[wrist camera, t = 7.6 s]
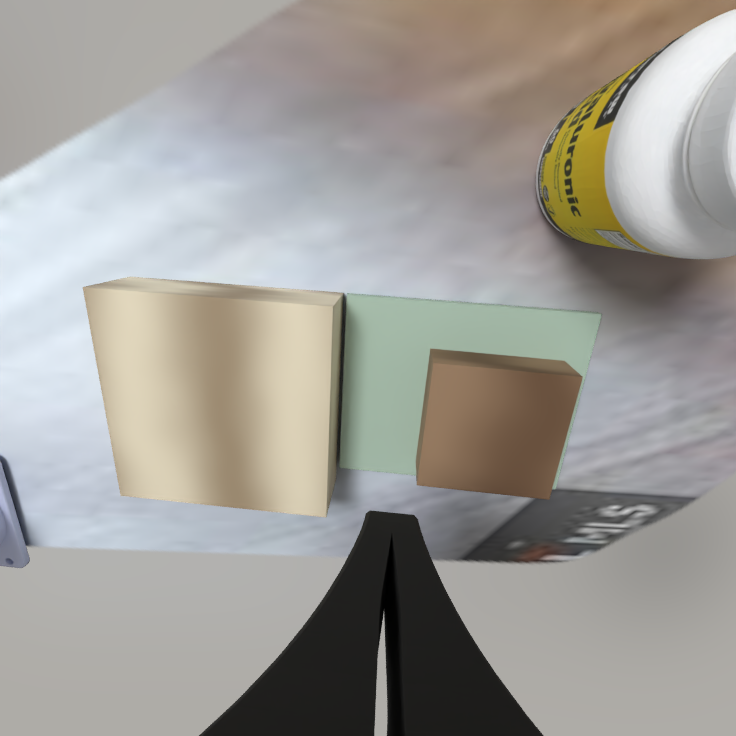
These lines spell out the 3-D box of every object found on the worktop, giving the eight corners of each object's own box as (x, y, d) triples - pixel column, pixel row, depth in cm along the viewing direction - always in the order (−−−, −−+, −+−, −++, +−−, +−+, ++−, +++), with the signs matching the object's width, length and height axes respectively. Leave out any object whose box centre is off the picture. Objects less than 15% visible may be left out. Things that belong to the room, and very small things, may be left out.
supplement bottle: (565, 73, 15) (816, -149, 6) (705, 113, 15) (1165, -44, 6) (510, 223, 17) (635, 233, 8) (634, 259, 17) (902, 308, 8)
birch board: (155, 460, 23) (120, 495, 20) (130, 276, 19) (82, 287, 16) (335, 479, 22) (326, 517, 19) (343, 292, 19) (332, 306, 16)
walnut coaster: (549, 499, 19) (535, 473, 20) (582, 377, 17) (564, 360, 18) (416, 485, 19) (415, 460, 21) (433, 363, 17) (430, 348, 19)
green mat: (340, 463, 22) (339, 467, 21) (348, 293, 19) (346, 294, 18) (552, 484, 21) (555, 489, 21) (597, 312, 18) (602, 314, 18)
